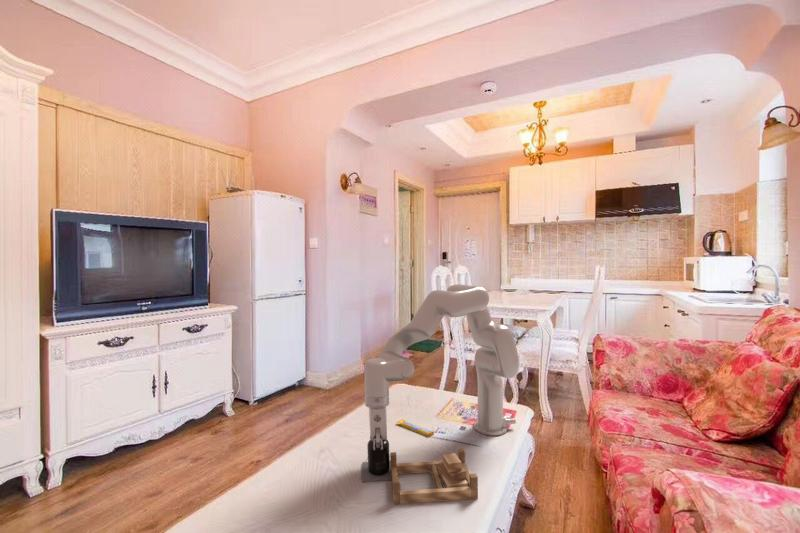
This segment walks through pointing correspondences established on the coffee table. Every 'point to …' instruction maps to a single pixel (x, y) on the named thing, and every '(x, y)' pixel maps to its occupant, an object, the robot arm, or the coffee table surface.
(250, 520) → the coffee table surface
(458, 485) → the offcut
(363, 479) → the mat
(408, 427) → the candy bar
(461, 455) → the rack
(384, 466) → the supplement bottle
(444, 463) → the offcut
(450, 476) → the offcut
